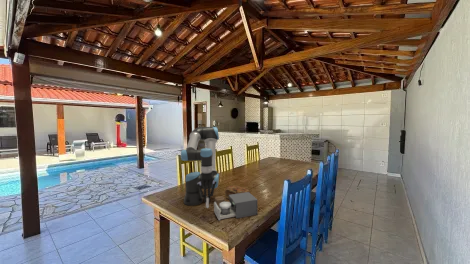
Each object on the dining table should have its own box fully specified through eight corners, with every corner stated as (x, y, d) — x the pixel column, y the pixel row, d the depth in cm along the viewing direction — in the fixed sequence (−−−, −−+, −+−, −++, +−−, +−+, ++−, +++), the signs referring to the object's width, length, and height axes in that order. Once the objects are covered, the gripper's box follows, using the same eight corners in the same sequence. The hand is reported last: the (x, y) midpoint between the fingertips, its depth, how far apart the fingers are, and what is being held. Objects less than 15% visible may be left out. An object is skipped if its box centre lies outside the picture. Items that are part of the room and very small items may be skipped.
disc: (218, 204, 135) (218, 202, 135) (229, 203, 137) (229, 200, 137) (221, 209, 127) (221, 207, 127) (232, 207, 130) (232, 205, 130)
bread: (224, 198, 160) (224, 187, 159) (231, 194, 169) (231, 183, 168) (244, 203, 150) (244, 191, 149) (250, 198, 159) (250, 187, 158)
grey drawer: (214, 211, 136) (213, 201, 136) (234, 208, 141) (234, 198, 141) (218, 220, 124) (218, 209, 124) (240, 216, 130) (240, 205, 129)
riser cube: (215, 204, 148) (215, 197, 148) (222, 203, 150) (222, 196, 150) (217, 208, 142) (216, 200, 142) (224, 206, 144) (224, 199, 144)
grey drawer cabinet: (228, 208, 141) (228, 194, 140) (248, 205, 147) (248, 191, 146) (235, 218, 127) (235, 203, 126) (257, 214, 133) (257, 199, 132)
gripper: (197, 174, 120) (198, 210, 122) (217, 172, 125) (218, 207, 126) (195, 171, 128) (196, 206, 129) (214, 169, 132) (215, 203, 133)
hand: (207, 206), depth 127 cm, fingers closed
